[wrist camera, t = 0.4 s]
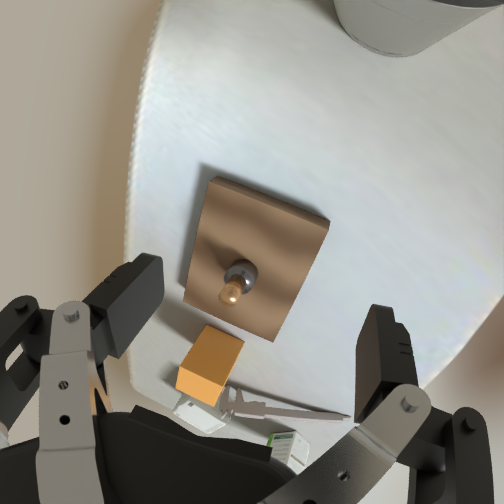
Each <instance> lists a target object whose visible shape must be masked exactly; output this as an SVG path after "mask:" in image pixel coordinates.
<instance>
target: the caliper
mask: <svg viewBox="0 0 504 504" xmlns="http://www.w3.org/2000/svg"><path fill="white" fill-rule="evenodd" d="M229 389H230V385H227V386H226V387H225V389H224V391H223V394H222V396H221V398H220V404H219V412H220V413H222V419H223V418H224V417H225V416H226V412H227V416H228V418H229V420H231V414H232V413H234V415H235V416H241V417H248V418H256V419H264V417H267V418H275V419H284V420H294V421H306V422H320V423H342V421H348V420H349V419H350V418H351V416H343V415H342V414H337V413H329V412H313V411H300V410H290V409H281V408H272V407H265V402H257V401H252V402H244V400H243V396H242V392H241V389H240V388H237V393H236V402H228V397H229Z"/></svg>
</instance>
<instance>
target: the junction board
mask: <svg viewBox="0 0 504 504" xmlns="http://www.w3.org/2000/svg"><path fill="white" fill-rule="evenodd" d="M329 226H330V221H328V220H326V219H323V218H321V217H319V216H316V215H314V214H312V213H309V212H307V211H305V210H302V209H300V208H297V207H295V206H293V205H290V204H288V203H285V202H283V201H280V200H278V199H276V198H273V197H271V196H268V195H266V194H263V193H261V192H258V191H256V190H253V189H250V188H248V187H245V186H243V185H240V184H238V183H235V182H232V181H230V180H227V179H224V178H222V177H219V176H216V177H215V178H213V179H212V180H210V181H209V183H208V187H207V191H206V196H205V200H204V204H203V208H202V213H201V217H200V221H199V226H198V230H197V235H196V239H195V244H194V249H193V253H192V258H191V263H190V268H189V273H188V278H187V283H186V288H185V293H184V298H183V302H185V303H187V304H189V305H191V306H194V307H196V308H198V309H200V310H202V311H204V312H206V313H208V314H210V315H213V316H215V317H217V318H219V319H221V320H223V321H226V322H228V323H230V324H232V325H234V326H237V327H239V328H241V329H243V330H246V331H248V332H250V333H252V334H255V335H257V336H259V337H262V338H264V339H266V340H269V341H271V342H274V340H275V338H276V336H277V334H278V332H279V330H280V328H281V326H282V324H283V322H284V320H285V319H286V317H287V315H288V313H289V311H290V309H291V307H292V305H293V303H294V301H295V299H296V297H297V295H298V293H299V291H300V289H301V287H302V285H303V283H304V281H305V279H306V277H307V275H308V272H309V270H310V268H311V266H312V264H313V262H314V260H315V258H316V256H317V254H318V252H319V249H320V247H321V245H322V243H323V241H324V239H325V237H326V235H327V232H328V230H329ZM238 259H246V260H249V261H251V262H252V263H253V264H254V265H255V266H256V267H257V270H258V278H257V280H256V281H255V283H254V285H253V287H252V289H251V290H250V291H249V292H248V293H246V294H241V296H240V298H239V299H238V301H237V303H236V304H235V306H233V307H225V306H223V305H222V304H221V303H220V302H219V300H218V295H219V293H220V292H221V290H222V289H223V287H224V286H225V282H224V275H225V273H226V272H227V270H228V269H229V268H230V266H231V265H232V263H233V262H234V261H236V260H238Z"/></svg>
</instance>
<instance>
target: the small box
mask: <svg viewBox="0 0 504 504" xmlns="http://www.w3.org/2000/svg"><path fill="white" fill-rule="evenodd" d="M222 394H223V393H221V394H220V396H219V398H218V400H217V402H216V404H215V406H214V407H213V406H211V405H209V404H206V403H204V402H202V401H200V400H198V399H196V398H194V397H192V396H190V395H188V394H186V393H183V394H182V396H181V398H180V399H179V401H178V403H177V404H176V406H175V408H174V409H173V411H172V412H173V413H174V414H175V415H177V416H178V417H180V418H182V419H183V420H185V421H186V422H188V423H190V424H191V425H193V426H195V427H197V428H198V429H200V430H201V431H203V432H205V433H207V434H210V433H211V432H213V431H215V430H217V429H219V428H221V427H223V426H224V425H226V424H227V423H228V421H229V418H228V416H227V412H226V416H225V417H224V418H223V419H222V413H220V412H219V404H220V398H221V396H222ZM228 402H236V401H234V400H233V399H231V398H229V397H228Z"/></svg>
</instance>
